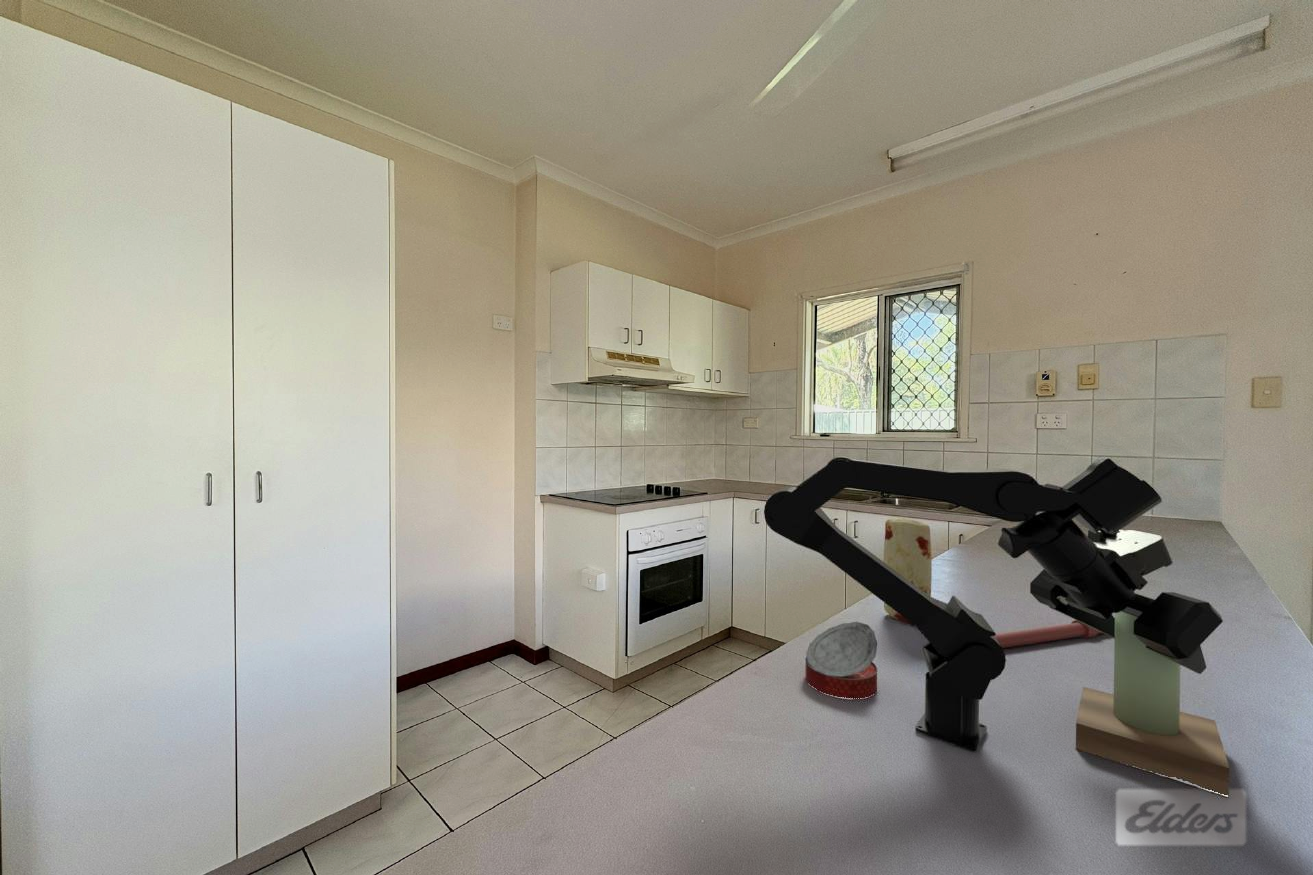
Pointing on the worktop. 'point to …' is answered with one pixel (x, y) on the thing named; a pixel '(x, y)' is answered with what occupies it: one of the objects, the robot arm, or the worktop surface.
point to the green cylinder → (1144, 683)
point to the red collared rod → (1046, 634)
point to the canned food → (843, 661)
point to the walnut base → (1154, 744)
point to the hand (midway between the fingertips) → (1158, 652)
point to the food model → (908, 554)
